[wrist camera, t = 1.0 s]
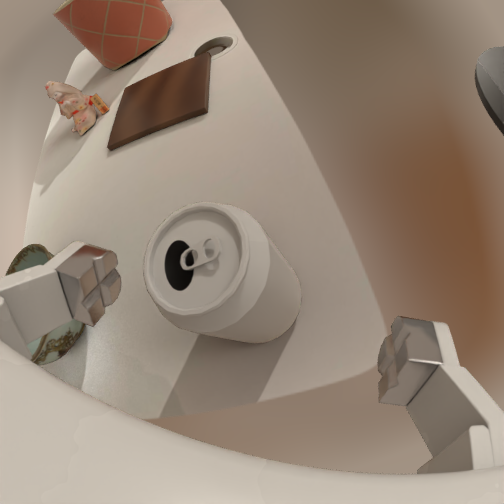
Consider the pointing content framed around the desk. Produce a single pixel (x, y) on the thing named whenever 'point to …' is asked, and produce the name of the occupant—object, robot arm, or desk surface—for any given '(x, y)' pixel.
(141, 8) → the planter
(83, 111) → the figurine
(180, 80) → the board
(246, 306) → the can
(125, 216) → the desk surface
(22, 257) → the bowl
